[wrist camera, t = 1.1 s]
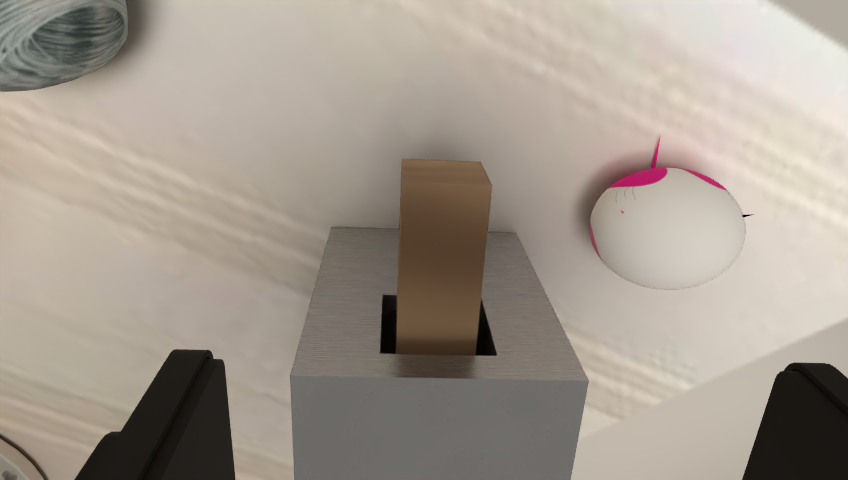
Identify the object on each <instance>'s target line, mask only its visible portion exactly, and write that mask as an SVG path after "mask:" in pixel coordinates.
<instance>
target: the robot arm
mask: <svg viewBox="0 0 848 480" xmlns="http://www.w3.org/2000/svg"><path fill="white" fill-rule="evenodd" d="M0 480H44V479H43V477H42V476H41V474H40V473H39V472H38V471H37V469H36V468H35V467H34V465H33V464H32V463H31V462H30V461H29V460H28V459H27V458H26V457H25V456H23V455H22V454H21V453H20V452H19V451H18V450H17V449H15V448H14V447H12V446H11V445H9V444H8V443H6V442H5V441H3V440H2V439H0ZM75 480H235V472H234V461H233V450H232V440H231V429H230V418H229V407H228V396H227V386H226V375H225V366H224V362H223V360H222V359H213V355H212V352H211V351H210V350H179V349H176V350H173V351H172V352H171V353H170V354H169V356H168V358H167V359H166V361H165V362H164V364H163V366H162V367H161V369H160V370H159V372H158V373H157V375H156V377H155V378H154V380H153V381H152V383H151V385H150V386H149V388H148V389H147V391H146V393H145V394H144V396H143V397H142V399H141V400H140V402H139V404H138V405H137V407H136V408H135V410H134V412H133V413H132V415H131V416H130V418H129V420H128V421H127V423H126V424H125V426H124V427H123V429H122V431H121V432H110V433H108V434H107V435H105V436H104V437H103V439H102V440H101V441H100V442H99V444H98V445H97V447H96V448H95V450H94V451H93V453H92V454H91V456H90V457H89V459H88V460H87V462H86V463H85V465H84V466H83V468H82V469H81V471H80V472H79V474H78V475H77V477H76V478H75ZM742 480H848V378H847V377H845V376H844V375H843V374H842V373H841V372H840V371H839V370H837V369H836V368H835V367H833V366H832V365H830V364H825V363H792V364H789V365H788V366H787V367H786V368H785V370H784V371H782V372H780V373H779V374H777V376H776V378H775V381H774V384H773V387H772V390H771V393H770V396H769V399H768V403H767V405H766V408H765V412H764V415H763V418H762V421H761V424H760V427H759V430H758V433H757V436H756V440H755V442H754V446H753V448H752V451H751V454H750V457H749V461H748V464H747V467H746V470H745V473H744V476H743V479H742Z"/></svg>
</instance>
